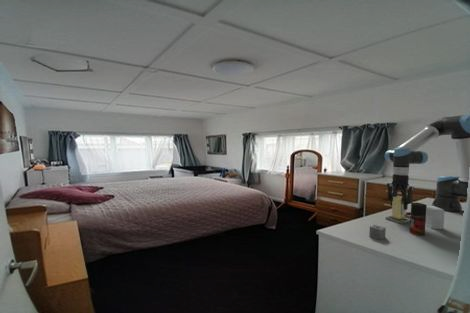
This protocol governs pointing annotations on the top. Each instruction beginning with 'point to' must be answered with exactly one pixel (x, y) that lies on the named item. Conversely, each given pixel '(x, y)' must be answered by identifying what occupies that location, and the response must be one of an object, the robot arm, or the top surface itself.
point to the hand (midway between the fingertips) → (398, 213)
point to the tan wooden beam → (397, 208)
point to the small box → (434, 217)
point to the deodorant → (418, 219)
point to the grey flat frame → (401, 221)
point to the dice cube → (377, 232)
